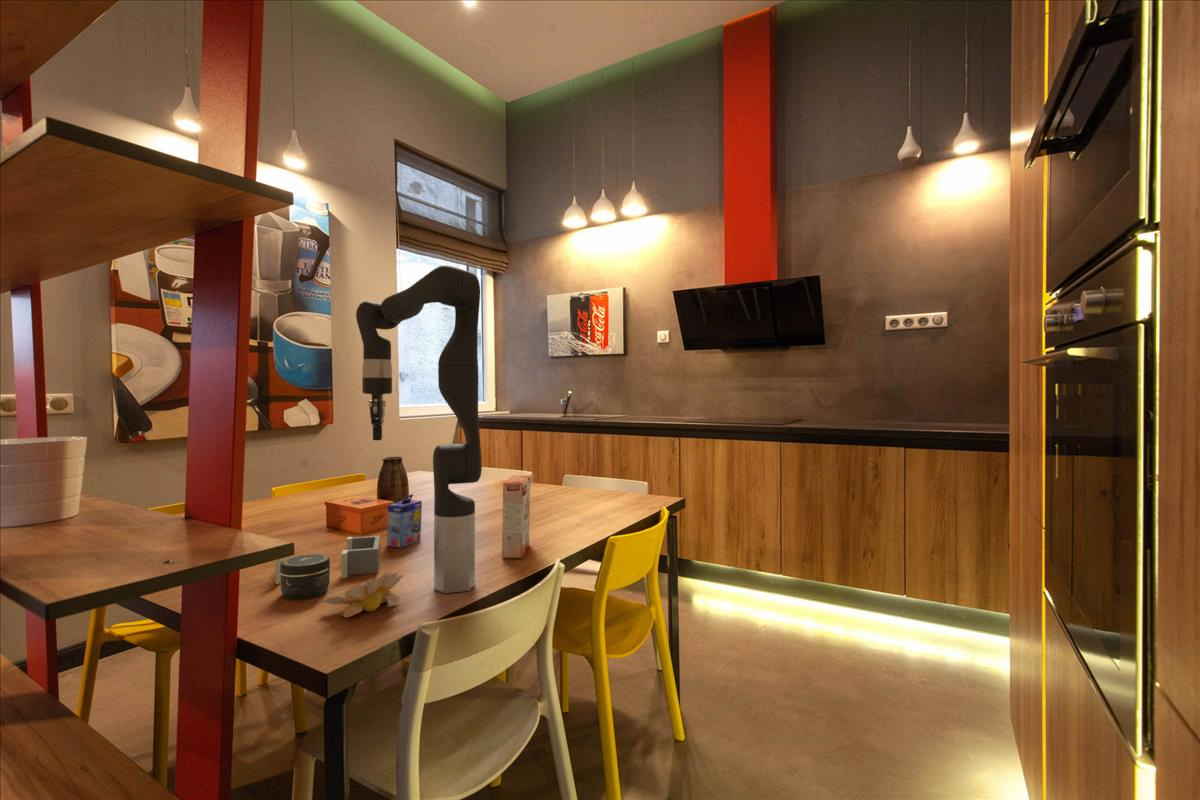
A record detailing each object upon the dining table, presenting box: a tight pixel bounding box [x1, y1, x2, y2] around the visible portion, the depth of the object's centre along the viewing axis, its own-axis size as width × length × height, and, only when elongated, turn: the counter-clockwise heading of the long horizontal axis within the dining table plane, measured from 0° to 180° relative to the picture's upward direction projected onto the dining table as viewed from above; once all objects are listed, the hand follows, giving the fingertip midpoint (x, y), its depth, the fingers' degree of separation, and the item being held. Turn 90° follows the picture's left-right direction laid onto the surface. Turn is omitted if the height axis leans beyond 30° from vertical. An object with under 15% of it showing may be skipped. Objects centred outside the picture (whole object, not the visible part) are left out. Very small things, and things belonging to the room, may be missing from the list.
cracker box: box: [501, 474, 531, 559], centre depth 160 cm, size 14×6×21 cm, turn 179°
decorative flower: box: [323, 572, 405, 618], centre depth 119 cm, size 15×11×10 cm
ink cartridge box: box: [386, 493, 423, 549], centre depth 168 cm, size 10×6×14 cm, turn 163°
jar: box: [280, 553, 331, 601], centre depth 127 cm, size 10×10×8 cm
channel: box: [274, 535, 381, 585], centre depth 143 cm, size 16×22×6 cm
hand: (377, 440), depth 154 cm, fingers closed
